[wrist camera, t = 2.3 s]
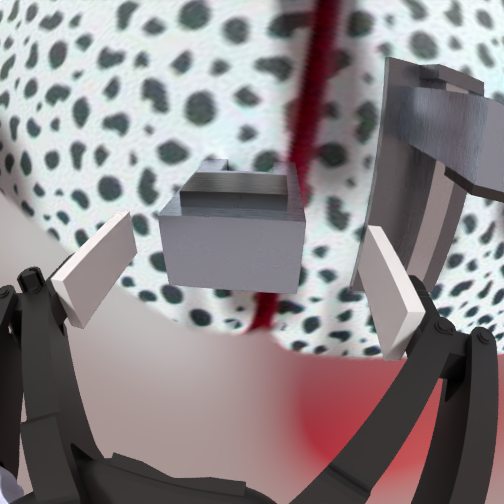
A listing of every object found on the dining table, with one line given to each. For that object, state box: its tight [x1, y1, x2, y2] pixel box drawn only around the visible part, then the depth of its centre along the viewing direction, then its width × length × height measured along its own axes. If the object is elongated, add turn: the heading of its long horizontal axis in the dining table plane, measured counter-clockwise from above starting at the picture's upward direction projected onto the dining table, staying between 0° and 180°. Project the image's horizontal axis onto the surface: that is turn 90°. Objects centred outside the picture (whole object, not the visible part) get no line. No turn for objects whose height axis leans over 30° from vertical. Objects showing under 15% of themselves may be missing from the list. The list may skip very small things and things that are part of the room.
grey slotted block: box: [350, 57, 504, 292], centre depth 16 cm, size 9×20×11 cm, turn 179°
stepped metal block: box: [158, 159, 306, 294], centre depth 18 cm, size 7×5×10 cm
